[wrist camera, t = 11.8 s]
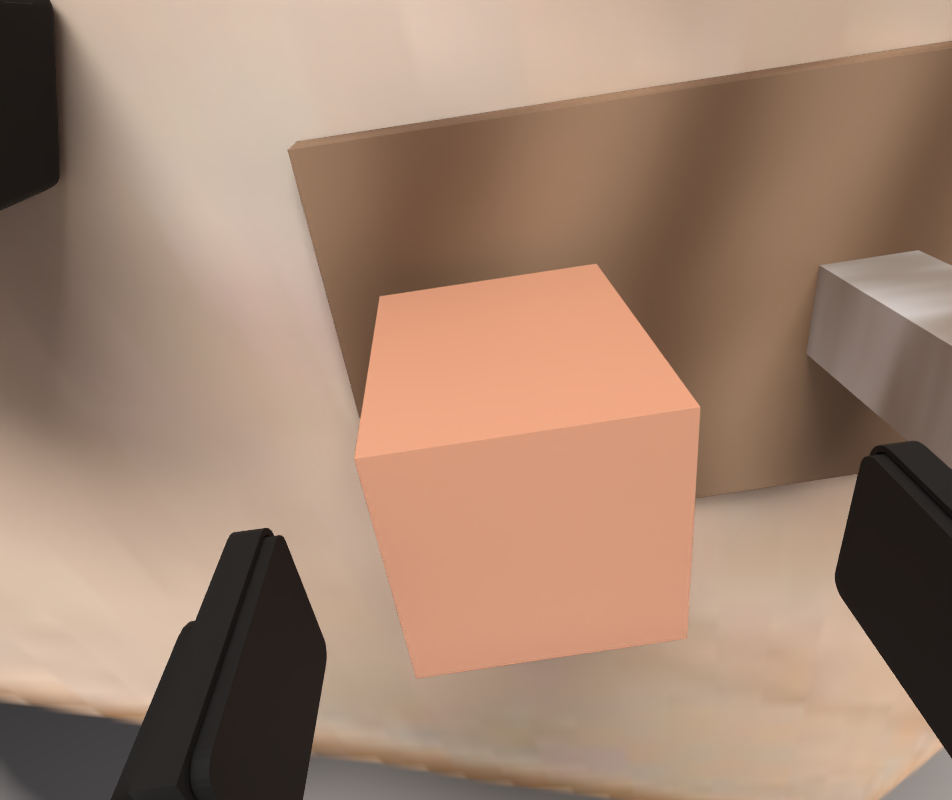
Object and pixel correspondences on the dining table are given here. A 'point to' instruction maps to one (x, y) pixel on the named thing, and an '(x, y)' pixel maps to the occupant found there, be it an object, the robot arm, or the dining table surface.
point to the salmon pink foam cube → (527, 471)
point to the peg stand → (692, 242)
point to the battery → (27, 100)
